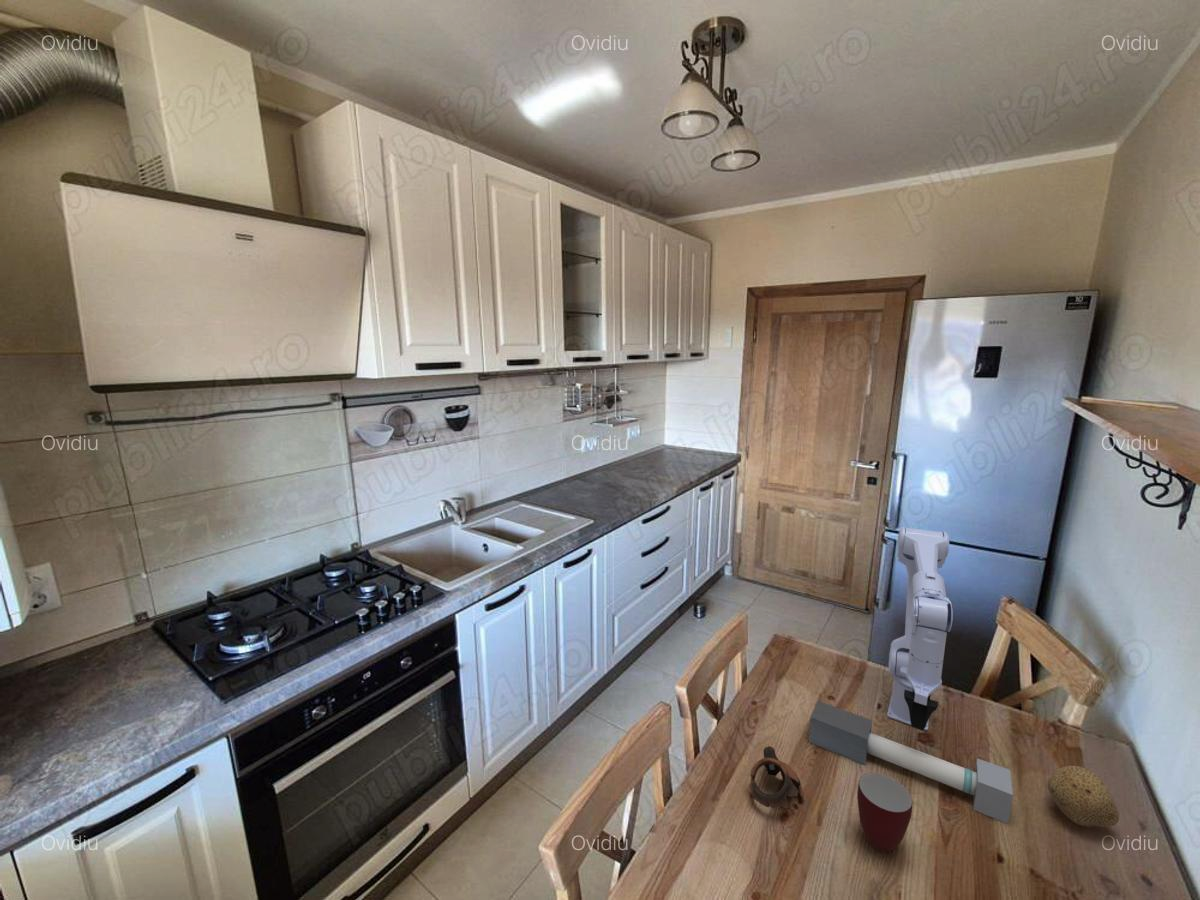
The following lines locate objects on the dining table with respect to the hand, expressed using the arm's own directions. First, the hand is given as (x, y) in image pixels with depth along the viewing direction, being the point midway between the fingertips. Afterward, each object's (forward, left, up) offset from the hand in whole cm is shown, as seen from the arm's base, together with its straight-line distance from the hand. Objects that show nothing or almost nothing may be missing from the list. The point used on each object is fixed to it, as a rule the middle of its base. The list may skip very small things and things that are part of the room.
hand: (918, 716), depth 102 cm
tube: (+4, +1, -9) cm, 10 cm away
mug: (+23, -4, -11) cm, 26 cm away
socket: (+4, +12, -10) cm, 17 cm away
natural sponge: (-1, +25, -11) cm, 27 cm away
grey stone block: (+4, -14, -10) cm, 17 cm away
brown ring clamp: (+24, -21, -11) cm, 34 cm away
